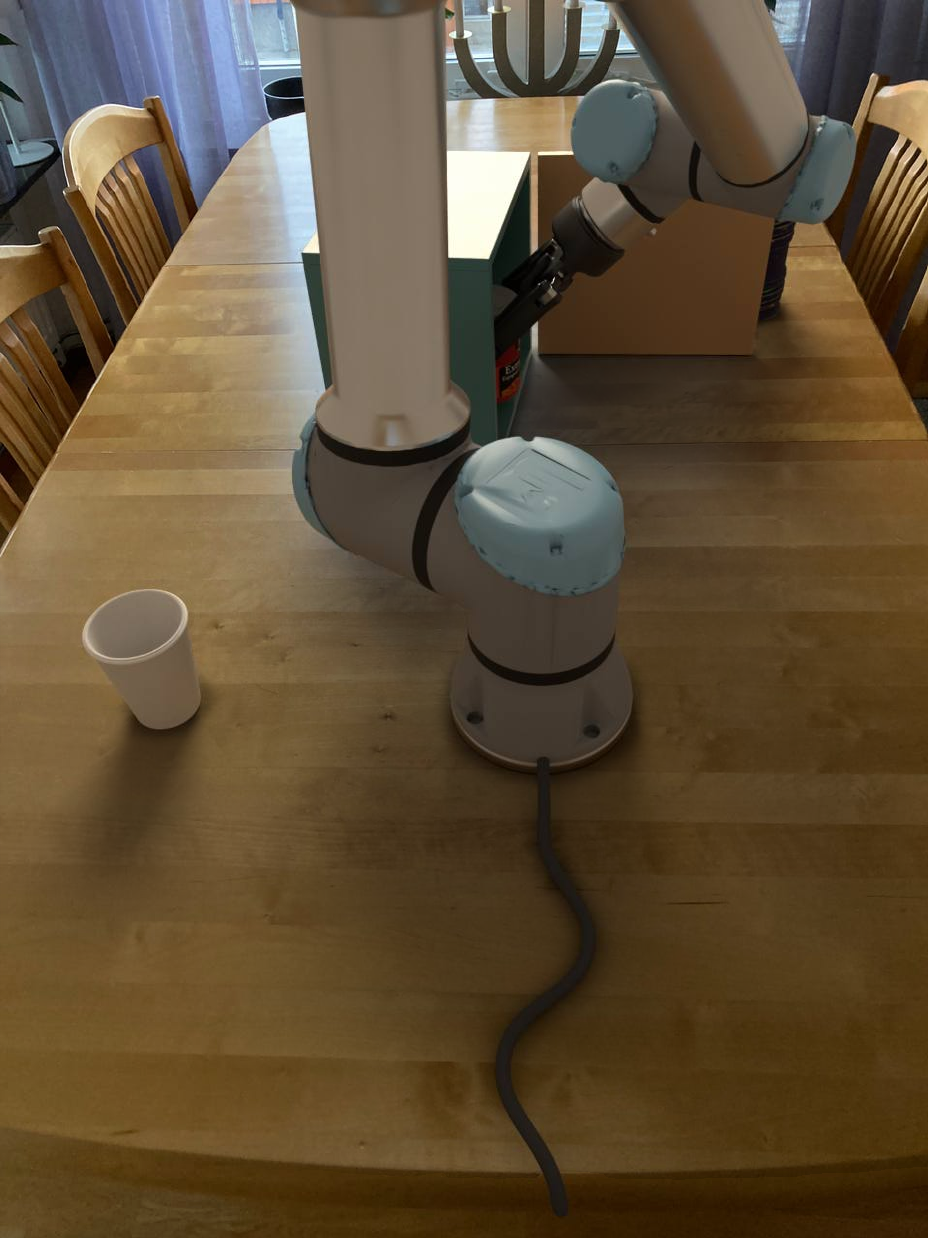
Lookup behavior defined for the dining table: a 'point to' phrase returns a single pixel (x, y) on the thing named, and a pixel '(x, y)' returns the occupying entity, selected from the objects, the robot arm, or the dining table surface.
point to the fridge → (468, 277)
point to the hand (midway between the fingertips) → (455, 359)
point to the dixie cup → (147, 655)
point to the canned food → (510, 359)
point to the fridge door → (659, 280)
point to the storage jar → (776, 269)
